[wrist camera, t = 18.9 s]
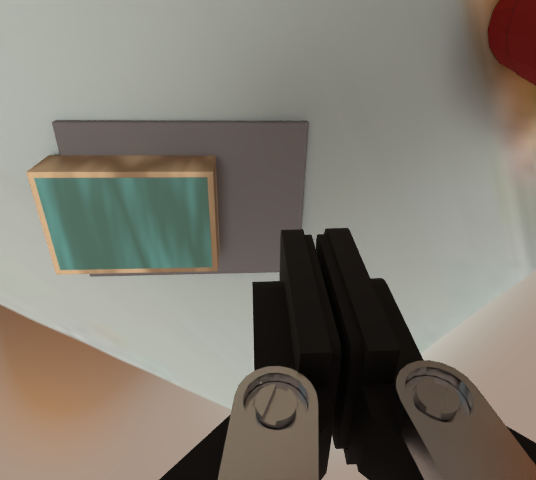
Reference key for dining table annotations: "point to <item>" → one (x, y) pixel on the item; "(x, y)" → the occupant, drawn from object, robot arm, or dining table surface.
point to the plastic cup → (515, 36)
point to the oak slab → (128, 212)
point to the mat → (219, 176)
